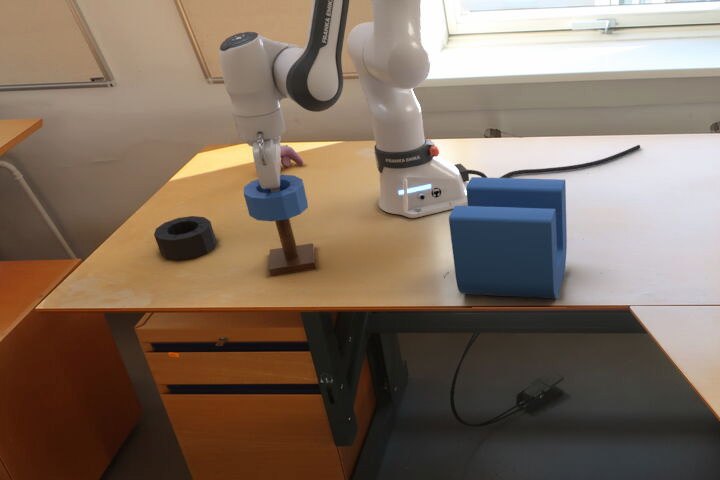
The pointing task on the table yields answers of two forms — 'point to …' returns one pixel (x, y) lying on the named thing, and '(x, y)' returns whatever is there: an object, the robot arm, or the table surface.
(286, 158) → the video game controller
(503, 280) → the block
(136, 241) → the table surface
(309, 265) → the wooden stand
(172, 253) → the ring
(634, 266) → the table surface
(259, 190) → the blue tape
